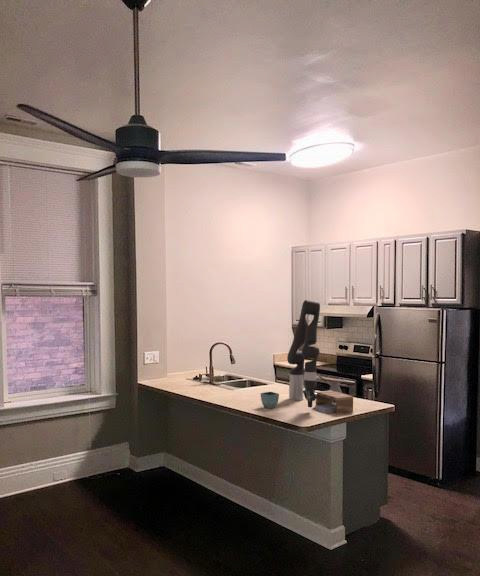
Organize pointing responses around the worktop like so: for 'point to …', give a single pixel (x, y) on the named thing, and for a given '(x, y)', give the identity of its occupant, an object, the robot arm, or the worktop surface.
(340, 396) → the brown cardboard box
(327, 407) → the panel
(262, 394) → the flower pot
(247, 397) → the worktop surface
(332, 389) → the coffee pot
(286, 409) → the worktop surface
